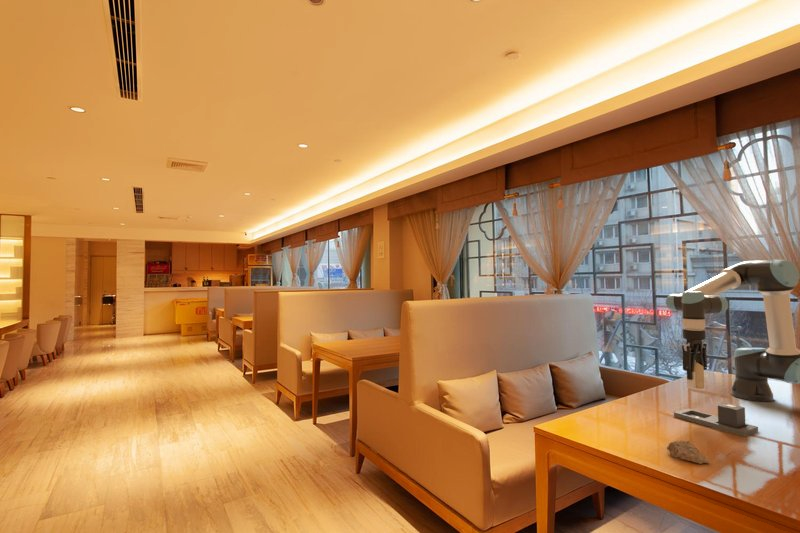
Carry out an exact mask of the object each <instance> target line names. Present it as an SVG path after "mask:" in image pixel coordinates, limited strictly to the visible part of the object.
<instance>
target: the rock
mask: <svg viewBox="0 0 800 533" xmlns="http://www.w3.org/2000/svg"><path fill="white" fill-rule="evenodd" d="M666 450H667V451H668V452H669V454H670V456H671V457H673V458H674V459H675V458H676V459H679V460H684V461H688V462H694V463H695V464H700V465H701V464H705V463H706V464H708V463H710V459H709V458H708V455H706V454H705V453H703V452H701V451H700V449H698V448H697V447H696V445H694V443H692V442H691V441H689V440H687V441H686V440H676V441H672V442H670V443H669V444H668V446H667V447H666Z"/></svg>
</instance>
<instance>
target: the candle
mask: <svg viewBox="0 0 800 533" xmlns="http://www.w3.org/2000/svg"><path fill="white" fill-rule="evenodd" d="M693 372H695V386H696V388H695V390H696V389H698V390H700V389H701V390H702V389H704V388H705V370H704V367H703V366H702V365H701V364H699V363H696V362H695V364H694V371H693Z"/></svg>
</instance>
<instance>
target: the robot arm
mask: <svg viewBox="0 0 800 533" xmlns="http://www.w3.org/2000/svg"><path fill="white" fill-rule="evenodd" d="M799 282H800V271H799V269H798V267H797V265H795V263H793V262H792V261H790V260H787V259H763V260H761V259H760V260H746V261H742V262H739V263H736V264H734V265H731V266H728V267H727V268H724V269H722V270H721V271H720V272H718V275H716V276H713V277H711V278H710V279H708V280H705V281H703V282H702V283H701V282H700V283H699V284H697V285H695V286H693V287H691V288H689V289H688V290H684V291H682V292H681V293H679V294H678V293H672V294H671V293H670V294H669V295H667V297H666V299H665V305H666V308H668V310H670V311H675V312H682V316H681V317H682V320H681V322H682V328H683V329H682V338H683V339H685V340H686V343H685V345H684V344H682V345H681V351H682V370H683V371H685V372H686V385H687V386H686V387H687V388H691V389H695V390H696V386H695V372H693V371H694V364H695V362H696V363H699V364H701V365H702V366H703V367H704V371H707V370H708V368H707V367H708V357H707V345H708V344H707V343H706V342H705V343H704V342H703V341H704V340H706V337H707V336H706V334H707V333H706V315H709V314H710V315H711V314H712V315H718V314H723V313H725V312H726V311H727V310H728V308H729V302H728V300H727V298H726V297H724V296H723V295H720V294H722V293H724V292H726V291H728V290H731V289H732V290H734V289H738V288H739V287H747V286H749V287H757V292H759V293H760V294H761V295H762V297H763V298H762V300H763V305H764V314H765V320H766V328H767V329H766V330H767V337H768V338H767V339H768V344H769V347H767V348H764V347H739V348H738V347H737V348H736V349H735V350H734V355H733V356H734V357H733V358H734V374H735V378H734V380H733V384H732V386H731V389H730V390H731V391H730V392H731V393H730V394H731V395H732V396H734V397H736V398H738V399H743V400H748V401H754V402H772V401H774V394H773V392H772V388H771V387H770V385H769V382H768V379H771V380H776V381H781V382H785V383H788V384H789V383H790V384H791V383H792V384H797V385H798V384H800V349H799V348H797V344H796V336H795V329H794V320H793V313H792V304H791V297H790V294H791V292H793V291H794V290H795V289H794V287H796V286H797V285H798V284H799Z"/></svg>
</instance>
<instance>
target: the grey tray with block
mask: <svg viewBox="0 0 800 533" xmlns="http://www.w3.org/2000/svg"><path fill="white" fill-rule="evenodd" d="M673 417H674V418H677V419H681V420H685V421H687V422H692V423H695V424H698V425H702V426H705V427H708V428H713V429H717V430H720V431H723V432H726V433H731V434H733V435H736V436H741V437H747V436H750V435H753V434H755V433H758V432H759V426H758V425H753V424H749V423H746V408H745V407H744V406H740V405H737V404H732V403H728V402H726V403H721V404H717V415H716V414H715V415H714V414H710V413H707V412H703V411H700V410H695V409H691V408H689V407H688V408H684V409H680V410H677V411H674V412H673Z"/></svg>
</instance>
